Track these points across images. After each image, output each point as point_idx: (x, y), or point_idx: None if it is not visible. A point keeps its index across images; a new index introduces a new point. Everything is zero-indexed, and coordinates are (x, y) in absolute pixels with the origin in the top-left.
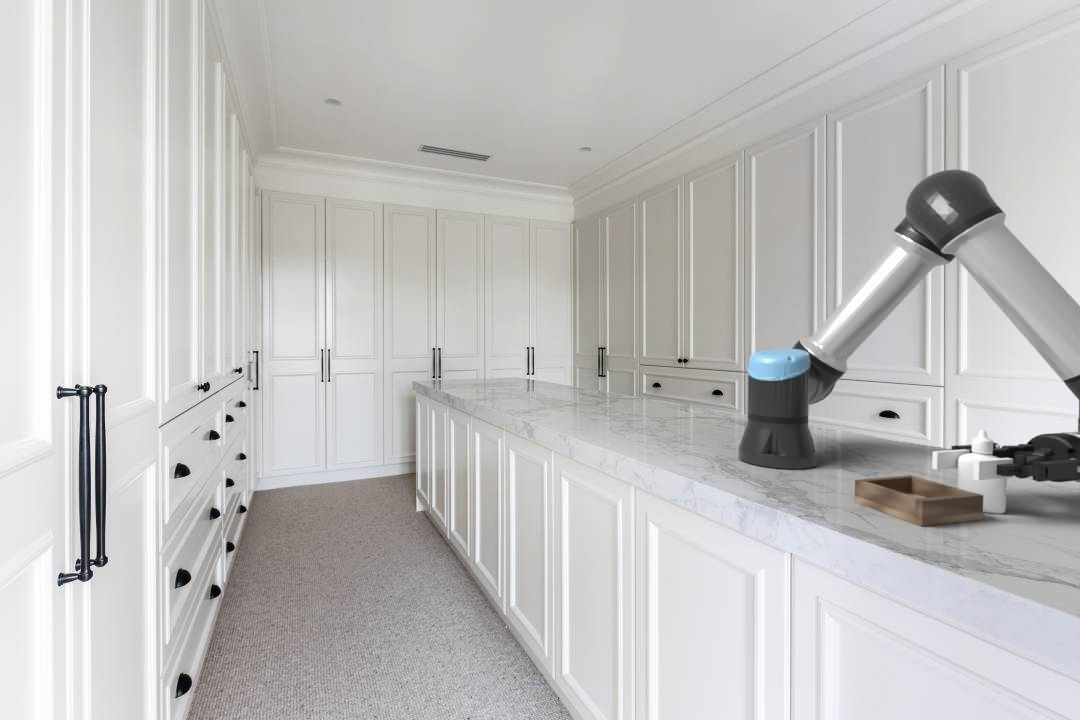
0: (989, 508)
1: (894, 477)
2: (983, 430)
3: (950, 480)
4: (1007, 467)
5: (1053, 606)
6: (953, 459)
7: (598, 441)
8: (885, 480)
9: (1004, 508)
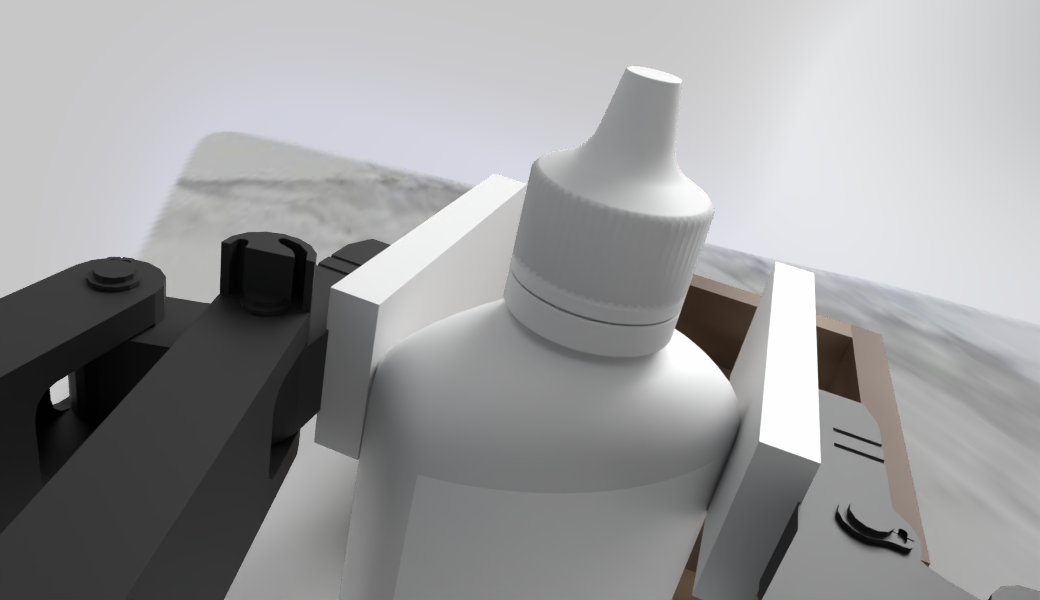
0: None
1: (892, 455)
2: (648, 72)
3: None
4: (354, 251)
5: (229, 132)
6: (743, 395)
7: None
8: (857, 401)
9: None
